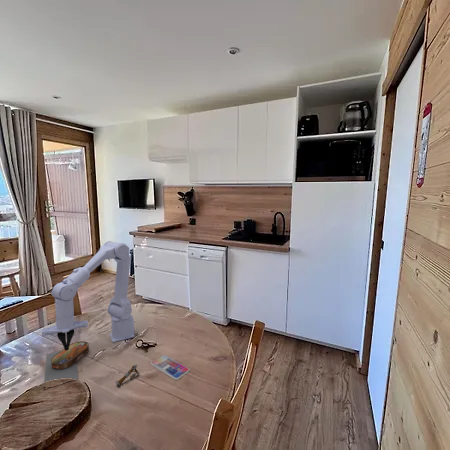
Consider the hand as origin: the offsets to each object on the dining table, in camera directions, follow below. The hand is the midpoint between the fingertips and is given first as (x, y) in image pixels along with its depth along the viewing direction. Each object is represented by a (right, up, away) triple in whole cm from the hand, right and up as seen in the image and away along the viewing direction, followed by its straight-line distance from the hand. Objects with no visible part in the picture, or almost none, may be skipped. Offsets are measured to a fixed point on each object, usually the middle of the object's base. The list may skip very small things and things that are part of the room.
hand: (66, 348), depth 98 cm
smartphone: (+39, -8, +1) cm, 40 cm away
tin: (+3, -5, +3) cm, 7 cm away
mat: (-2, -6, 0) cm, 7 cm away
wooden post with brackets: (+26, -8, -7) cm, 28 cm away
